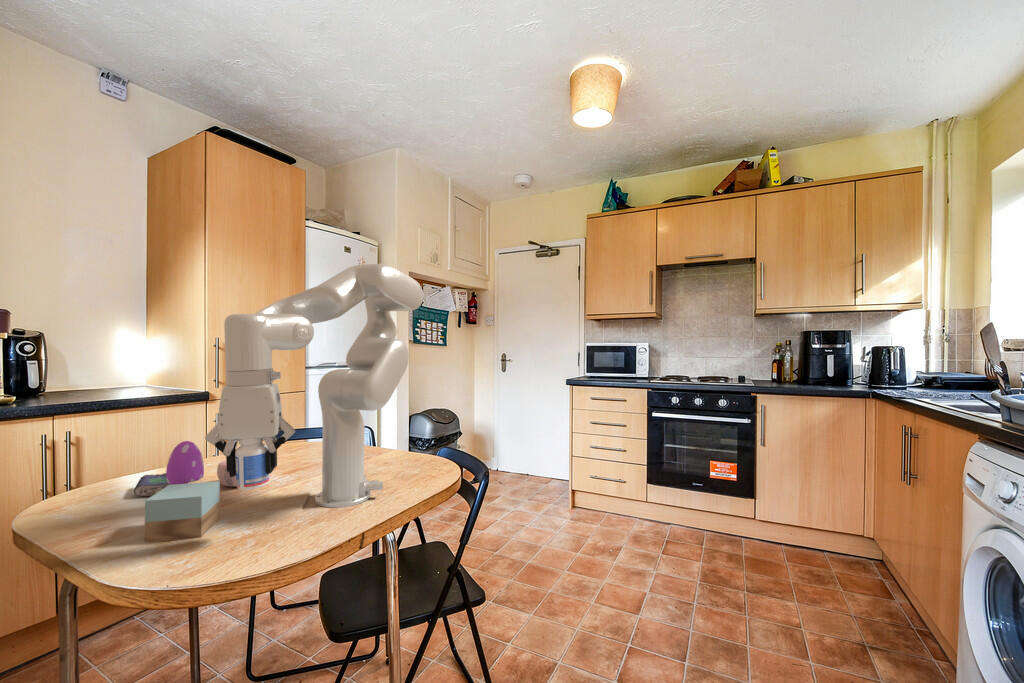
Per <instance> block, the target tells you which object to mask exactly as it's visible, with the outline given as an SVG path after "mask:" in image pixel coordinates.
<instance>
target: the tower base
mask: <svg viewBox="0 0 1024 683" xmlns="http://www.w3.org/2000/svg"><path fill="white" fill-rule="evenodd" d="M220 501H221V500H219V501H218V502H217V503H216V504H215V505H214V506H213V507H212V508H211V509H210V510H209V511H208V512H207V513H206V514H205V515H203V516H202V517H201V518H189V519H178V520H167V521H156V522H145V521H144V542H154V541H155V542H156V541H158V542H159V541H169V540H171V541H173V540H183V539H195V538H202V537H203V536H204V535H205V534H207V532H208V531H210V529H211V528H212V527H213V526H214V525H215V524H216V523H217V522H219V520H220V512H221V511H220V509H221V508H220V507H221V506H220Z"/></svg>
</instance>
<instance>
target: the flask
mask: <svg viewBox="0 0 1024 683" xmlns="http://www.w3.org/2000/svg"><path fill="white" fill-rule="evenodd" d="M168 485H175V484H169V483H167V480H166V472H165V473H164V472H163V473H161V474H159V473H156V474H144V475H143V476H141V477H140V478H139V480H138V482H137V484H136V485H135V487H134V488H133V493H134V494H135V495H136V496H141V497H143V496H144V497H151V496H153V495H155V494H156V493H158V492H159V491H161V490H162V489H164V488H165V487H167V486H168Z"/></svg>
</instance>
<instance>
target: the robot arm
mask: <svg viewBox="0 0 1024 683" xmlns="http://www.w3.org/2000/svg"><path fill="white" fill-rule="evenodd" d="M362 301H364V305H365V309H366V317H367V320H366V324H365V325H364V327H363V329H362V330H361V332H360V333H359V334H358V336H357V337H356V339H355V341H354V342H353V343H352V344H351V346H350V348H349V349H348V351H347V354H346V357H345V362H346V365H347V368H348V369H347V368H339V369H333V370H330V371H328V372H326V373H325V374H324V375H323V376H322V377H321V378H320V381H319V383H318V387H317V389H318V391H317V394H318V398H319V404H320V408H321V410H320V411H321V416H322V418H321V419H322V420H321V421H322V451H321V452H322V455H321V456H322V465H321V466H322V467H321V468H322V469H321V471H322V472H321V473H322V476H321V481H322V485H321V491H320V492H318V493H317V494H316V495H315V497H314V503H315V504H316V505H317V506H320V507H324V508H329V507H330V508H331V509H332V508H333V509H334V508H335V509H337V508H348V506H349V507H353V505H354V506H357V505H360V504H363V503H364V501H365V502H366V501H368V499H370V497H371V491H382V490H384V489H383V488H384V481H379V480H378V479H374V480H369V479H367V474H366V475H365V434H366V432H365V429H366V428H365V421H364V419H363V415H362V413H361V411H370V412H372V411H373V412H375V411H379V410H381V409H382V408H384V407H385V406H386V405H387V404H388V402H389V401H390V399H392V396H393V393H394V392H395V390H396V389H397V387H398V385H399V383H400V382H401V379H402V377H403V376H404V374H405V372H406V371H407V368H408V364H409V357H410V353H409V350H408V347H407V345H406V343H405V342H404V341H403V340H401V339H399V338H396V336H397V330H398V329H397V325H396V323H395V321H394V319H393V317H392V314H391V312H411V311H415V310H417V309H419V308H420V307H421V305H422V303H423V302H424V291H423V289H422V285H420V283H419V282H418V281H417V280H416V279H414V278H412V277H411V276H410V275H408V274H406V273H405V272H403V271H401V270H399V269H397V268H395V267H394V266H391V265H389V264H387V263H367V264H356V265H352V266H349V267H348V268H346V269H344V270H342V271H340V272H338V273H337V274H336V275H334V276H331V277H330V278H328V279H327V280H326V281H325V280H324V281H323V282H322V283H320V284H318V285H317V286H314V287H311V288H307V289H305V290H303V291H300V292H298V293H295V294H292V295H290V296H286V297H284V298H281V299H279V300H277V301H275V302H273V303H270V304H269V305H267V306H265V307H263V308H261V309H260V310H258V311H257V312H255V313H233V314H230V315H228V316H226V317H225V319H224V322H223V323H224V326H223V328H224V353H225V354H224V356H225V385H226V386H224V387H222V390H221V394H220V398H219V399H220V400H219V406H218V414H217V415H218V417H217V419H218V420H217V424H215V426H213V428H211V429H210V431H209V432H208V433H207V434H206V436H205V437H204V439H205V441H207V442H208V443H209V444H210V445H213V446H214V447H215V448H216V449H217V450H219V451H220V452H221V453H223V456H225V458H226V459H225V460H226V465H227V472H229V475H230V477H234V476H235V475H236V462H235V451H236V449H237V448H238V447H237V446H238V443H239V440H243V439H264V440H263V442H264V444H265V445H266V446H267V448H268V452H267V453H266V473H267V474H269V475H271V474H272V473H273V471H274V470H275V468H277V467H278V449H279V448H280V447H281V446H282V445H283V444H284V443H285V442H286V441H287V440H288V439H289V438H291V437H292V436H293V435H294V434H295V433H296V429H295V428H294V427H293V426H292V425H291V424H290V423H288V421H286V420H285V419H284V418H283V407H282V399H281V393H280V389H279V386H278V384H277V383H274V381H276V380H279V379H281V376H282V373H281V371H277V370H276V371H275V370H274V368H273V354H272V351H277V350H278V351H296V350H297V351H298V350H302V349H303V348H305V347H307V346H309V344H310V343H311V342H312V341H313V339H314V336H315V329H314V325H313V324H318V323H323V322H324V323H325V322H328V321H332V320H335V319H338V318H340V317H342V316H343V315H345V314H346V313H347V312H349V311H350V310H351V309H352V308H354V307H355V306H357V305H359V304H360V303H362ZM281 431H283V432H284V433H283V434H282V435H281V436H279V438H278V439H277V435H278V434H279V432H281Z"/></svg>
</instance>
